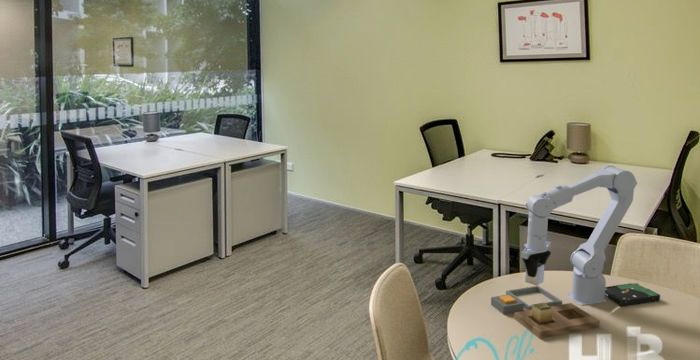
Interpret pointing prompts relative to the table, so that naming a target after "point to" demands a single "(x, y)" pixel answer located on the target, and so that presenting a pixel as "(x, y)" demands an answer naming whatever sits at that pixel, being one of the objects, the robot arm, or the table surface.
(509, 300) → the button
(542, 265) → the block
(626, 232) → the table surface
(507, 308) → the button housing
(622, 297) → the disk drive
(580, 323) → the wooden pocket board
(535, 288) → the tray
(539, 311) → the block
